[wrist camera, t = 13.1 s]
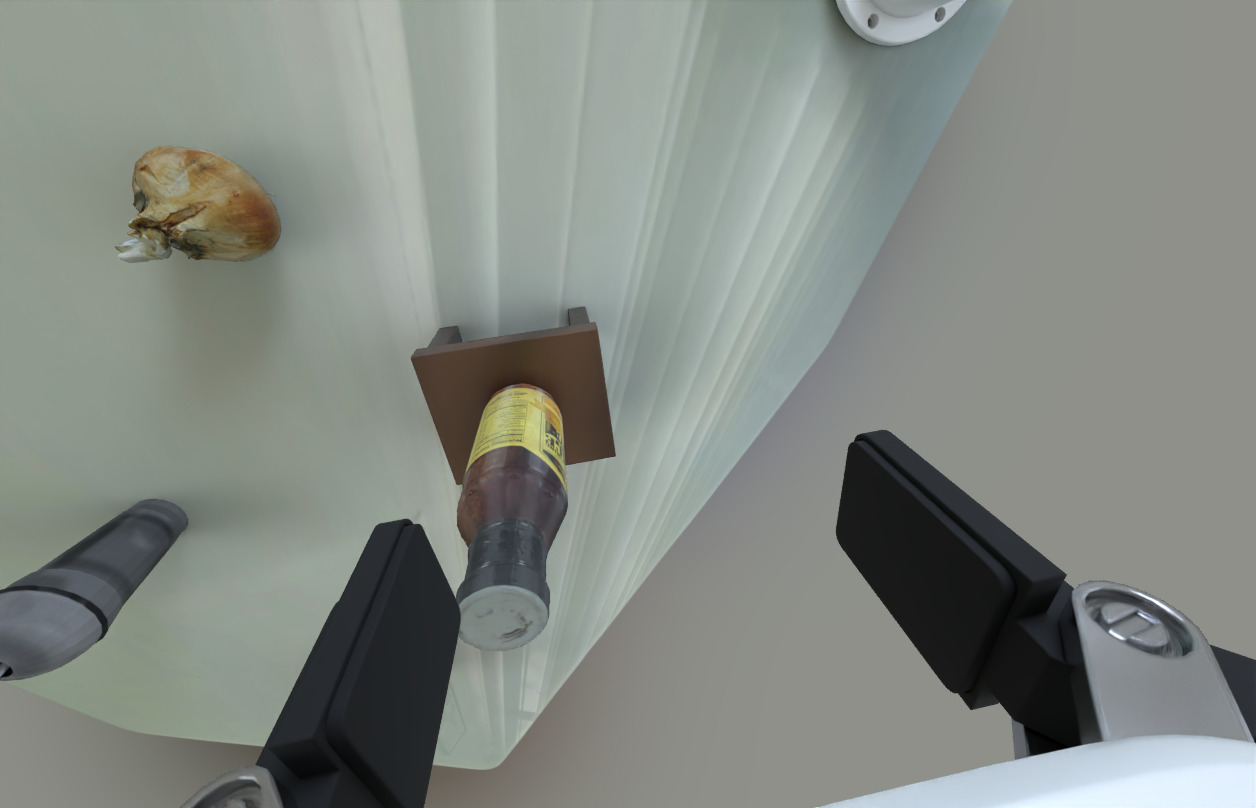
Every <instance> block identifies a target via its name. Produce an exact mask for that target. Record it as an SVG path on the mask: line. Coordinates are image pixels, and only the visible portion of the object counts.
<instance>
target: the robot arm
mask: <svg viewBox="0 0 1256 808" xmlns="http://www.w3.org/2000/svg"><path fill="white" fill-rule="evenodd" d="M965 1H966V0H836V3H837V6H838V9H839V10H840V12H841V14H842V16H843V17H844V19H845V21H846V23H847V24H848V25H849V26H850V27H851V28H852V29H853V30H854V31H855V33H856V34H858V35H859V36H861V37H862V38H864V39H865V40H867V41H868V42H872V43H875V44H878V45H881V46H897V45H902V44H906V43H910V42H913V41H915V40H918V39H920V38H923V37H925V36H927V35H928V34H930V33H932V32H934V31H935V30H937V29H938V28H940V27H941V26H942V25H943V24H944V23H945V22H947V21H948V20H949V19H950V18H951V17H952V16H953V15H954V14H955V13H956V12H957V11H958V10H959V8H960V7H961V6H962V5H963V4H964V3H965ZM836 536H837V539H838V542H839V544H840V546H841V547H842V549H843V550H844V551H845V552H846V554H847V555H848V557H849V558H850V559H851V561H852V562H853V563H854V565H855V566H856V567H857V569H858V570H859V572H860V573H861V574H862V576H863V577H864V578H865V580H866V581H867V582H868V584H869V585H870V586H871V588H872V589H873V590H874V592H875V593H876V594H877V596H878V597H879V598H880V600H881V601H882V602H883V604H884V605H885V606H886V608H887V609H888V610H889V612H890V613H891V615H892V616H893V617H894V619H895V620H896V621H897V623H898V624H899V625H900V627H901V628H902V629H903V631H904V632H905V633H906V635H907V636H908V637H909V639H910V640H911V641H912V643H913V644H914V646H915V647H916V648H917V649H918V651H919V652H920V654H921V655H922V656H923V658H924V659H925V660H926V662H927V663H928V664H929V666H930V667H931V668H932V670H933V671H934V672H935V674H936V675H937V676H938V678H939V679H940V680H941V682H942V683H943V684H944V685H945V687H946V688H947V689H949V690H950V691H951V692H953V693H958V694H959V695H960V697H961V698H962V699H963V700H964V702H965V703H966V704H967V706H968V707H969V708H970V710H973V709H977V708H981V707H986V706H990V705H995V704H998V703H1000V704H1001V705H1002V706H1003V707H1004V709H1005V710H1006V711H1007V712H1008V714H1009V715H1010V716H1011V718H1012V729H1013V741H1014V752H1015V760H1012V761H1008V762H1003V763H999V764H994V765H990V766H986V767H981V768H977V769H973V770H969V771H965V772H961V773H957V774H952V775H948V776H944V777H940V778H936V779H932V780H928V781H923V782H919V783H915V784H911V785H907V786H902V787H898V788H894V789H890V790H886V791H882V792H878V793H873V794H870V795H865V796H861V797H857V798H852V799H849V800H844V801H840V802H836V803H832V804H828V805H824V806H820V807H816V808H1256V660H1254V659H1251V658H1248V657H1245V656H1242V655H1239V654H1236V653H1233V652H1230V651H1227V650H1224V649H1221V648H1218V647H1215V646H1212V645H1209V643H1208V641H1207V639H1206V638H1205V636H1204V635H1203V633H1202V632H1201V631H1200V629H1199V628H1198V627H1197V626H1196V625H1195V624H1194V623H1193V622H1192V621H1191V620H1190V619H1189V618H1187V617H1186V616H1185V615H1184V614H1183V613H1181V612H1180V611H1179V610H1177V609H1176V608H1174V607H1173V606H1171V605H1170V604H1168V603H1166V602H1165V601H1163V600H1161V599H1159V598H1157V597H1155V596H1153V595H1151V594H1149V593H1147V592H1145V591H1142V590H1139V589H1137V588H1134V587H1130V586H1128V585H1125V584H1120V583H1115V582H1110V581H1088V582H1085V583H1082V584H1079V585H1078V586H1077V587H1076V588H1075V589H1073V587H1071V586H1070V585H1069V584H1068V583H1066V582H1065V581H1064V579H1065V577H1066V575H1067V574H1065V573H1064V572H1063V571H1062V570H1060V569H1059V568H1058V567H1057V566H1055V565H1054V564H1053V563H1052V562H1050V561H1049V560H1048V559H1046V557H1044V556H1043V555H1042V554H1041V553H1039V552H1038V551H1037V550H1036V549H1034V548H1033V547H1032V546H1030V545H1029V544H1028V543H1027V542H1026V541H1024V540H1023V539H1022V538H1021V537H1019V536H1018V535H1017V534H1016V533H1015V532H1013V531H1012V530H1011V529H1010V528H1008V527H1007V526H1006V525H1005V524H1003V523H1002V522H1001V521H1000V520H999V519H997V518H996V517H995V516H994V515H992V514H991V513H990V512H989V511H987V510H986V509H985V508H984V507H982V506H981V505H980V504H979V503H977V502H976V501H975V500H974V499H972V498H971V497H970V496H969V495H967V494H966V493H965V492H964V491H963V490H961V489H960V488H959V487H958V486H956V485H955V484H954V483H952V481H950V480H949V479H948V478H947V477H945V476H944V475H943V474H942V473H940V472H939V471H938V470H936V469H935V468H934V467H933V466H932V465H930V464H929V463H928V462H927V461H925V460H924V459H923V458H922V457H921V456H919V455H918V454H917V453H916V452H914V451H913V450H912V449H911V448H909V447H908V446H907V445H906V444H904V443H903V442H902V441H901V440H899V439H898V438H897V437H896V436H894V435H893V434H892V433H891V432H889V431H887V430H879V431H874V432H869V433H863V434H859V435H857V436H856V438H855V440H854V442H852V443H850V445H849V447H848V453H847V460H846V466H845V473H844V480H843V486H842V493H841V499H840V506H839V512H838V519H837V526H836ZM460 623H461V612H460V608H459V605H458V603H457V601H456V598H455V596H454V594H453V592H452V590H451V588H450V585H449V583H448V581H447V579H446V577H445V575H444V573H443V570H442V568H441V566H440V564H439V562H438V560H437V558H436V555H435V553H434V551H433V549H432V547H431V545H430V543H429V540H428V538H427V536H426V534H425V532H424V530H423V528H422V526H421V525H420V524H413V523H412V521H411V520H409V519H402V520H397V521H391V522H386V523H381V524H378V525H377V526H376V527H375V528H374V530H373V532H372V534H371V536H370V538H369V540H368V542H367V544H366V546H365V548H364V551H363V553H362V555H361V557H360V559H359V561H358V563H357V565H356V567H355V569H354V571H353V573H352V575H351V577H350V579H349V581H348V584H347V586H346V588H345V590H344V592H343V594H342V596H341V598H340V600H339V601H338V602H337V603H336V604H335V606H334V607H333V609H332V610H331V612H330V614H329V616H328V618H327V620H326V622H325V624H324V626H323V629H322V631H321V633H320V635H319V637H318V639H317V641H316V643H315V645H314V647H313V649H312V651H311V653H310V655H309V657H308V659H307V661H306V663H305V665H304V667H303V669H302V671H301V673H300V675H299V677H298V679H297V681H296V683H295V685H294V687H293V689H292V692H291V694H290V696H289V698H288V700H287V702H286V704H285V706H284V708H283V710H282V712H281V714H280V716H279V718H278V720H277V722H276V724H275V726H274V728H273V730H272V732H271V734H270V736H269V738H268V740H267V742H266V744H265V746H264V748H263V750H262V753H261V755H260V757H259V759H258V761H257V763H256V765H252V766H244V767H239V768H236V769H234V770H232V771H229V772H227V773H224V774H222V775H220V776H219V777H217V778H216V779H214V780H213V781H211V782H210V783H208V784H207V785H205V786H204V787H202V788H201V789H200V790H199V791H197V792H196V793H195V794H194V795H193V796H192V797H191V798H190V799H188V800H187V801H186V802H185V803H184V804H183V805H182V806H181V807H180V808H423V807H424V804H425V799H426V794H427V789H428V784H429V779H430V774H431V769H432V764H433V759H434V754H435V749H436V744H437V739H438V734H439V729H440V724H441V719H442V714H443V709H444V704H445V699H446V694H447V689H448V684H449V679H450V674H451V669H452V664H453V659H454V654H455V649H456V644H457V639H458V634H459V629H460Z"/></svg>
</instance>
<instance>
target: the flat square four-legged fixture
mask: <svg viewBox="0 0 1256 808" xmlns="http://www.w3.org/2000/svg"><path fill="white" fill-rule="evenodd" d="M568 312H569V318H570V325H571V326H566V327H559V328H553V329H546V330H539V331H533V332H526V333H520V334H513V335H507V336H500V337H494V338H487V339H481V340H474V341H468V342H462V339H461V336H460V333H459V329H458V326H452V327H446V328H440V329H439V331H438V332H437V334H436V335H435V337H434V338H433V340H432V341H431V343H430V344H429V346H428V347H427V348H422V349H417V350H416V351H415V352H414V354H413V355H412V356H411V361H412V363H413V366H414V369H415V371H416V374H417V377H418V380H419V382H420V385H421V388H422V391H423V393H424V396H425V399H426V402H427V404H428V407H429V410H430V413H431V415H432V418H433V421H434V424H435V426H436V429H437V432H438V435H439V437H440V440H441V443H442V446H443V448H444V451H445V454H446V457H447V459H448V462H449V465H450V468H451V470H452V473H453V476H454V479H455V481H456V484H457V485H460V484H463V479H464V476H465V472H466V469H467V465H468V462H469V458H470V455H471V451H472V448H473V445H474V441H475V438H476V435H477V431H478V428H479V425H480V421H481V418H482V414H483V411H484V409H485V407H486V406H487V404H488V403H489V401H490V400H491V397H492V396H493V395H494V394H495V393H496V392H497V391H500V390H502V389H503V388H506V387H508V386H511V385H516V384H522V383H524V384H530V385H532V386H535V387H538V388H540V389H543V390H544V391H546V392H547V393H549V394H550V395H551V396H552V397H553V399H554V401H555V402H556V404H557V406H558V408H559V410H560V413H561V416H562V422H563V437H564V452H565V465H571V464H576V463H582V462H587V461H593V460H598V459H604V458H609V457H615V456H616V454H615V447H614V440H613V433H612V426H611V419H610V412H609V405H608V398H607V391H606V384H605V377H604V370H603V363H602V356H601V349H600V342H599V335H598V329H597V326H596V323H595V322H592V323H590V322H589V318H588V315H587V311H586V308H585V307H579V308H573V309H568Z"/></svg>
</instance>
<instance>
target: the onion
mask: <svg viewBox="0 0 1256 808" xmlns="http://www.w3.org/2000/svg"><path fill="white" fill-rule="evenodd" d="M132 187H133V192H134V203H133V205H134V206H135V207H136V209H137V210H138V211H139V214H137V215H136V216H135V217H134V218H133V219H132V220H131V221H130V222H129V224H128V226H129V227H130V228H132V229H135V230H136V231H130V232H128V235H130V236H133V237H135V238H136V239H132V240H129V241H126V242H124V243H121V244H118V245H116V246H115V248H116V249H117V250H119V251H120V252H122V253H121V254H119V255H118V256H119V258H120V259H121V260H123V261H126V262H128V263H135V262H145V261H149V260H159V259H160V260H162V259H164V258H169V257H170V256H171V254H172V250H171V246H172V247H174V248H176V249H178V250H181V251H182V252H184V253H186V254H187V256H188V258H189V259H190V258H191V257H192V258H194V259H196V260H200V259H212V260H227V261H235V262H236V261H249V260H252V259H255V258H257V257H259V256H261V255H263V254H264V253H266V252H268V251H270V250H271V249H272V248H273V247H274V246H275V245H276V243H277V241H278V239H279V237H280V233H281V224H280V219H279V216H278V213H277V210H276V208H275V205H274V204H273V202H272V200H271V198H270V197H269V195H273V194H270V193H266V191H265V190H264V189H263V188H262V187H261V186H260V184H259V183H258V182H257V181H256V180H255V179H254V178H253V177H252V176H251V175H250V174H249V173H247V172H246V171H245V170H244V169H242V168H241V167H239V166H238V165H236V164H235V163H233V162H232V161H230V160H228V159H226V158H224V157H222V156H219V155H217V154H215V153H212V152H209V151H204V150H199V149H191V148H183V147H174V146H164V147H157V148H155V149H153V150H151V151H149V152H147V153H146V154H145V155H144V156H143V157H142V158H140V159H139V160H138V161H137V162H136V164H135V169H134V173H133V179H132ZM268 194H269V195H268ZM274 196H275V195H274ZM170 245H171V246H170Z"/></svg>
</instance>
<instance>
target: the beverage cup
mask: <svg viewBox="0 0 1256 808" xmlns="http://www.w3.org/2000/svg"><path fill="white" fill-rule="evenodd" d="M187 523H188V519H187V517H186V515H185V513H184V512H183V511H182V510H181V509H180V508H178V507H177V506H175V505H174V504H171V503H169V502H166V501H162V500H156V499H153V500H144V501H140V502H139V503H137V504H136V505H134V506H133V507H131V508H130V509H128V510H127V511H124V512H123V513H121V514H120V515H118V516H117V517H115V518H114V519H112V520H111V521H109V522H108V523H106V524H105V525H103V526H102V527H101V528H99V529H98V530H96V531H95V532H93V533H92V534H90V535H89V536H87V537H86V538H84V539H83V540H82V541H80V542H79V543H77V544H76V545H74V546H73V547H71V548H70V549H68V550H67V551H65V552H64V553H62V554H61V555H60V556H58V557H57V558H55V559H54V560H52V561H51V562H49V563H48V564H46V565H45V566H43V567H42V568H41V569H39V570H38V571H36V572H33V573H30V574H29V575H27V576H25V577H23V578H21V579H20V580H18V581H16V582H14V583H13V584H11V585H10V586H8V587H7V588H5V589H2V590H0V681H8V680H21V679H26V678H31V677H34V676H38V675H41V674H44V673H47V672H50V671H53V670H55V669H57V668H59V667H62V666H63V665H65V664H67V663H68V662H70V661H72V660H73V659H75V658H76V657H78V656H80V655H81V654H82V653H84V652H85V651H87V650H88V649H89V648H90V647H91V646H92V645H94V644H95V643H97V642H98V641H100V640H101V639H102V638H104V636H105V634H106V633H107V631H108V628H109V627H110V625H111V624H112V622H113V621H114V619H115V618H116V616H117V614H118V613H119V611H120V610H121V608H122V606H123V605H124V604H125V602H126V601H127V600H128V599H129V597H130V596H131V595H132V594H133V593H134V591H135V590H136V589H137V588H138V586H139V585H140V584H141V583H142V582H143V580H144V579H145V578H146V577H147V576H148V574H149V573H150V572H151V571H152V569H153V568H154V567H155V566H156V565H157V563H158V562H159V561H160V560H161V558H162V557H163V556H164V555H165V554H166V552H167V551H168V550H169V549H170V548H171V546H172V545H173V544H174V543H175V541H176V540H177V538H178V537H179V535H180V534H181V532H182V531H183V530H184V529H185V528H186V526H187Z"/></svg>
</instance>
